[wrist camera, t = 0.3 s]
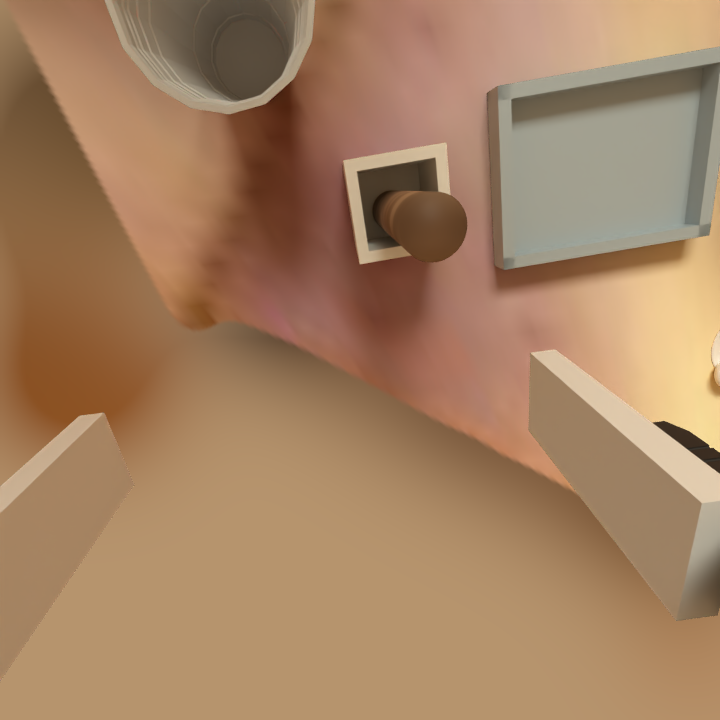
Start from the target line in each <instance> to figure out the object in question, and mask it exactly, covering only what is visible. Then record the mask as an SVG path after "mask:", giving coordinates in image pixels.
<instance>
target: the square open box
mask: <svg viewBox="0 0 720 720" xmlns="http://www.w3.org/2000/svg"><path fill="white" fill-rule="evenodd" d="M342 167H343V173H344V179H345V185H346V191H347V198H348V204H349V210H350V216H351V223H352V229H353V235H354V241H355V247H356V252H357V256H358V260H359V263H360V264H365V263H371V262H376V261H382V260H388V259H394V258H400V257H406V256H412V255H411V254H409V253H408V252H407V251H406V250H405V249H404V248H403V247H402V246H401V245H400V244H399V243H397V242H396V241H395V240H394V239H393V238H392V237H391V236H390V235H389V234H388V233H387V232H385V231H384V230H383V229H382V228H381V227H380V226H379V225H378V224H377V223H376V221H375V220H374V217H373V214H372V208H373V204H374V201H375V200H376V198H377V197H378V196H379V195H380V194H381V193H383V192H385V191H390V190H394V191H432V192H443V193H446V194H449V195H450V184H449V171H448V157H447V144H446V142H445V143H440V144H434V145H428V146H423V147H417V148H411V149H405V150H400V151H394V152H388V153H383V154H377V155H371V156H365V157H360V158H354V159H348V160H343V166H342Z"/></svg>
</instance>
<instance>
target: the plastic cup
mask: <svg viewBox="0 0 720 720" xmlns="http://www.w3.org/2000/svg"><path fill="white" fill-rule="evenodd" d="M105 4H106V6H107V9H108V11H109V14H110V16H111V19H112V22H113V24H114V27H115V29H116V32H117V35H118V37H119V40H120V42H121V45H122V48H123V49H124V50H125V52H126V53H127V54H128V55H129V57H130V58H131V59H132V60H133V61H134V63H135V64H136V65H137V66H138V68H139V69H140V70H141V71H142V73H143V74H144V75H145V76H146V77H147V79H148V80H149V81H150V82H151V84H152V85H153V86H155V87H156V88H158V89H160V90H161V91H163V92H165V93H166V94H168V95H170V96H171V97H173V98H174V99H176V100H178V101H179V102H181V103H183V104H184V105H186V106H188V107H189V108H193V109H199V110H205V111H211V112H217V113H224V114H233V113H236V112H240V111H243V110H247V109H250V108H254V107H257V106H261V105H264V104H266V103H267V102H269V101H271V100H272V99H273V98H274V97H275V96H276V95H278V94H279V93H280V92H281V91H282V89H283V88H284V87H285V86H286V85H287V84H289V83H290V82H291V81H292V80H293V79H294V78H295V76H296V74H297V72H298V69H299V67H300V65H301V63H302V61H303V59H304V56H305V54H306V52H307V50H308V48H309V46H310V44H311V41H312V35H313V22H314V10H315V0H105Z"/></svg>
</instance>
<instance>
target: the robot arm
mask: <svg viewBox="0 0 720 720" xmlns="http://www.w3.org/2000/svg"><path fill="white" fill-rule="evenodd" d="M528 430H529V432H530V433H531V434H532V435H533V437H534V438H535V439H536V441H537V442H538V443H539V445H540V446H541V447H542V448H543V450H544V451H545V452H546V454H547V455H548V456H549V457H550V459H551V460H552V461H553V463H554V464H555V465H556V466H557V468H558V469H559V470H560V472H561V473H562V474H563V475H564V477H565V478H566V479H567V481H568V482H569V483H570V485H571V486H572V487H573V488H574V490H575V491H576V492H577V494H578V495H579V496H580V497H581V499H582V500H583V501H584V502H585V504H586V505H587V506H588V508H589V509H590V510H591V512H592V513H593V514H594V516H595V517H596V518H597V519H598V521H599V522H600V523H601V524H602V526H603V527H604V528H605V530H606V531H607V532H608V533H609V535H610V536H611V537H612V539H613V540H614V541H615V543H616V544H617V545H618V546H619V548H620V549H621V550H622V552H623V553H624V554H625V556H626V557H627V558H628V559H629V561H630V562H631V563H632V565H633V566H634V567H635V568H636V570H637V571H638V572H639V573H640V575H641V576H642V577H643V579H644V580H645V581H646V582H647V584H648V585H649V586H650V588H651V589H652V590H653V592H654V593H655V594H656V595H657V597H658V598H659V599H660V601H661V602H662V603H663V605H664V606H665V607H666V608H667V610H668V611H669V612H670V614H671V615H672V616H673V617H674V619H675V620H676V621H678V620H686V619H693V618H701V617H708V616H715V615H718V611H719V608H720V453H719V452H718V451H717V450H715V449H714V448H710V447H709V445H708V444H707V443H705V442H704V441H702V440H701V439H700V438H698V437H697V436H695V435H694V434H692V433H691V432H690V431H687V430H685V429H682V428H680V427H677V426H675V425H673V424H670V423H668V422H665V421H661V422H654V423H652V422H650V421H649V420H648V419H646V418H645V417H644V416H643V415H641V414H640V413H639V412H637V411H636V410H635V409H633V408H632V407H631V406H629V405H628V404H627V403H625V402H624V401H623V400H621V399H620V398H619V397H617V396H616V395H615V394H613V393H612V392H611V391H610V390H608V389H607V388H606V387H604V386H603V385H602V384H600V383H599V382H598V381H596V380H595V379H594V378H592V377H591V376H590V375H588V374H587V373H586V372H584V371H583V370H582V369H581V368H579V367H578V366H577V365H575V364H574V363H573V362H571V361H570V360H569V359H567V358H566V357H565V356H563V355H562V354H561V353H559V352H558V351H557V350H555V349H554V350H547V351H540V352H533V353H530V383H529V429H528ZM133 486H134V484H133V481H132V479H131V476H130V474H129V471H128V469H127V467H126V464H125V462H124V459H123V457H122V455H121V452H120V450H119V447H118V445H117V443H116V440H115V438H114V435H113V433H112V431H111V429H110V426H109V423H108V421H107V418H106V416H105V414H104V413H97V414H90V415H83V416H79V417H78V418H77V419H76V420H75V421H73V423H71V424H70V425H69V426H68V427H67V428H65V429H64V430H63V431H62V432H61V433H60V434H59V435H58V436H57V437H55V438H54V439H53V440H52V441H51V442H50V443H49V444H47V445H46V446H45V447H44V448H43V449H42V450H41V451H40V452H39V453H37V454H36V455H35V456H34V457H33V458H32V459H31V460H30V461H28V462H27V463H26V464H25V465H24V466H23V467H22V468H21V469H19V470H18V471H17V472H16V473H15V474H14V475H13V476H12V477H10V478H9V479H8V480H7V481H6V482H5V483H4V484H3V485H2V486H0V681H1V679H2V678H3V676H4V675H5V673H6V672H7V670H8V669H9V668H10V666H11V665H12V663H13V662H14V660H15V659H16V657H17V656H18V654H19V653H20V651H21V650H22V648H23V647H24V645H25V644H26V643H27V641H28V640H29V638H30V637H31V635H32V634H33V632H34V631H35V629H36V628H37V626H38V625H39V624H40V622H41V621H42V619H43V618H44V616H45V615H46V613H47V612H48V610H49V609H50V608H51V606H52V605H53V603H54V602H55V600H56V599H57V597H58V595H59V594H60V593H61V591H62V590H63V588H64V587H65V585H66V584H67V583H68V581H69V579H70V578H71V577H72V575H73V574H74V572H75V571H76V569H77V568H78V566H79V565H80V563H81V562H82V561H83V559H84V558H85V556H86V555H87V553H88V552H89V550H90V549H91V547H92V546H93V544H94V543H95V541H96V540H97V538H98V537H99V536H100V534H101V533H102V531H103V530H104V528H105V527H106V525H107V524H108V522H109V521H110V520H111V518H112V517H113V515H114V514H115V512H116V511H117V509H118V508H119V506H120V505H121V503H122V502H123V500H124V499H125V498H126V496H127V495H128V493H129V492H130V490H131V489H132V487H133Z"/></svg>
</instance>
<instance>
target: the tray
mask: <svg viewBox="0 0 720 720" xmlns="http://www.w3.org/2000/svg"><path fill="white" fill-rule="evenodd" d="M487 102H488V126H489V150H490V174H491V198H492V222H493V246H494V265H495V266H497V267H499V268H501V269H503V270H507V269H513V268H519V267H524V266H530V265H536V264H542V263H548V262H554V261H560V260H566V259H572V258H578V257H584V256H590V255H596V254H601V253H607V252H613V251H619V250H625V249H631V248H637V247H643V246H649V245H655V244H661V243H667V242H672V241H678V240H684V239H690V238H696V237H702V236H708V235H709V234H710V227H711V220H712V213H713V206H714V199H715V192H716V185H717V178H718V171H719V164H720V47H715V48H709V49H704V50H698V51H692V52H687V53H681V54H675V55H670V56H664V57H659V58H653V59H647V60H642V61H636V62H630V63H625V64H619V65H613V66H608V67H602V68H596V69H591V70H585V71H579V72H574V73H568V74H562V75H557V76H551V77H546V78H540V79H534V80H529V81H523V82H517V83H512V84H506V85H500V86H497V87H495V88H494V89H492V90H491V91H489V92H488V93H487Z"/></svg>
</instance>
